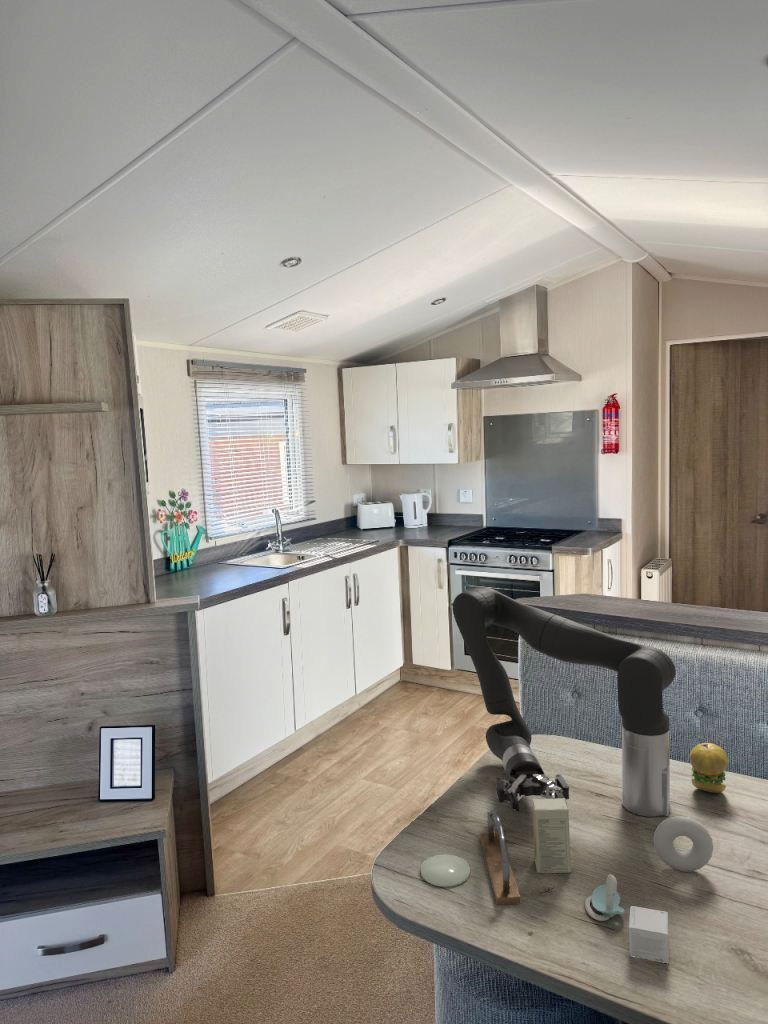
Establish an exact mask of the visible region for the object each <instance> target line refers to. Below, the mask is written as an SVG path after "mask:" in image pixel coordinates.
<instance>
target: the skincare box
mask: <svg viewBox="0 0 768 1024" xmlns="http://www.w3.org/2000/svg"><path fill="white" fill-rule="evenodd" d="M531 803H532V823H533V824H532V825H533V827H532V828H533V845H534V846H533V847H534V849H533V851H534V863H535V870H536V872H537V874H538V873H539V874H541V873H542V874H552V873H553V874H557V873H558V874H562V873H563V874H566V873H572V864H571V841H570V839H571V838H570V837H571V836H570V835H571V834H570V816H569V813H570V812H569V811H570V810H569V805H568V802H567V799H565V798H544V797H542V798H532V799H531Z"/></svg>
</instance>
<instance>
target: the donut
mask: <svg viewBox="0 0 768 1024" xmlns="http://www.w3.org/2000/svg"><path fill="white" fill-rule="evenodd" d="M653 835H654V836H653V846H654V850H655V852H656V854H657V856H658V858H659V859H660V860H661V861H662V862H663V863H664V864H665V865H666V866H668V867H669V868H672V869H673V870H676V871H680V872H684V873H685V872H687V873H688V872H696V871H699V870H701V869H702V868H703V867H704V866H706V865H707V864H708V863H709V861H710V860H711V858H712V857H713V852H714V843H713V842H714V841H713V838H712V836H711V834H710V833H709V831H708V828H706V827H705V826H704V824H702V823H701V822H700V821H698V820H696V819H694V818H692V817H688V816H684V815H676V816H675V815H674V816H671V817H668V818H666V819H664V820H662V822H660V823H659V824H658V825H657V827H656V829H655V831H654V834H653ZM678 837H679V838H680V837H687V838H688V839H690V841H692V847H691V848H690V849H688V850H683V851H682V850H679V849H677V848H676V847H675V845H674V842H675V840H676V839H677V838H678Z"/></svg>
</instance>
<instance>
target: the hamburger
mask: <svg viewBox="0 0 768 1024" xmlns="http://www.w3.org/2000/svg"><path fill="white" fill-rule="evenodd" d="M689 761H690V765H691V772H692V773H691V776H692V778H691V784H692V785H693V786H694V788H696V789H697V790H701V791H703V792H707V793H712V794H713V793H714V794H715V793H716V794H720V793H722V792H725V790H726V788H727V785H726V784H724V783H723V782H724V781H726V769H727V768H728V765H729V758H728V755H727V753H726V751H725V750H724V749H723V748H722V747H721V746H719V745H717V744H715V743H712V742H711V743H710V742H703V743H698V744H696V745H695V746H694V747H692V749H691V750H690V753H689Z"/></svg>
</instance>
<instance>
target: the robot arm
mask: <svg viewBox="0 0 768 1024" xmlns="http://www.w3.org/2000/svg"><path fill="white" fill-rule="evenodd" d="M452 614H453V617H454V620H455V622H456V625H457V628H458V630H459V633H460V634H461V637H462V639H463V641H464V646H465V647H466V649H467V651H468V653H469V656H470V658H471V661H472V663H473V667H474V669H475V671H476V676H477V679H478V682H479V685H480V690H481V693H482V698H483V700H484V701H483V702H484V705H485V709H486V712H487V713H488V714H490V715H492V716H493V715H496V716H497V715H498V716H499V715H500V716H503V715H504V716H508V717H509V718H511V719H510V720H507V721H504V722H499V723H495V724H492V725H490V726H489V727H488V728H487V730H486V733H485V741H486V744H487V746H488V748H489V750H490V751H491V753H492V754H493V755H494V756H495V757H496V758H498V759H500V760H501V761H502V765H503V769H504V774H505V775H506V777H507V780H504V779H503V778H502V777H500V776H496V777H495V791H496V795H497V800H498V802H499V803H505V801H506V802H507V803H508V804H509V806H510V809H512V810H514V811H515V813H519V812H520V800H521V799H522V798H523V797H530V796H531V797H532V796H535V797H538V796H539V797H542V798H565V800H569V799H570V786H569V784H568V783H567V782H566V779H564V777H563V775H562V774H560V773H559V774H558V773H557V774H555V777H551V778H549V776H547V775H545V772H544V769H543V768H542V766H541V764H540V762H539V759H538V758H537V755H535V752H533V750H532V748H531V746H530V745H531V743H532V733H531V730H530V728H529V726H528V724H527V723H526V721H525V719H524V718H523V716H522V714H521V713H520V711H519V708H518V706H517V704H516V701H515V697H514V694H513V693H514V692H513V689H512V685H511V682H510V677H509V676H508V673H507V671H506V668H505V667H504V666H503V664H502V663H501V661H500V660H499V659H498V658H497V656H496V655H495V653H494V651H493V650H492V648H491V646H490V643H489V641H488V638H487V633H486V626H487V625H489V624H491V625H496V626H498V627H503V628H505V629H508V630H510V631H513V632H514V633H516V634H517V635H519V637H521V638H522V639H523V641H525V643H526V644H527V645H528V646H530V648H532V649H533V650H535V651H537V652H538V653H541V654H543V655H546V656H548V657H551V658H552V659H553V658H554V659H555V660H558V661H561V662H564V663H569V664H577V665H583V666H593V667H601V668H605V669H608V670H611V671H613V672H616V673H617V677H616V679H617V681H616V682H617V683H616V684H617V688H616V690H617V707H618V711H619V716H620V717H621V738H622V739H621V751H622V752H621V753H622V754H621V756H622V757H621V759H622V760H621V761H622V763H621V765H622V766H621V773H622V776H621V777H622V778H621V779H622V780H621V782H622V787H621V788H622V789H621V790H622V791H621V792H622V793H621V795H622V796H621V797H622V800H621V801H622V806H623V807H624V808H625V810H628V812H631V813H632V814H635V815H638V816H642V817H643V816H644V817H653V818H654V817H660V816H665V817H668V816H669V813H670V803H671V801H670V800H671V798H670V797H671V760H670V717H669V715H668V714H667V712H665V711H664V702H663V699H664V697H663V694H664V693H663V692H664V690H666V689H667V688H668V687H670V685H671V684H672V683H673V681H674V680H675V678H676V675H677V674H676V672H677V669H676V665H675V663H674V661H673V660H672V659H671V657H670V656H669V655H668V654H667V653H666V652H665V651H662V650H660V649H659V648H656V647H653V646H650V645H646V644H641V643H638V642H634V641H630V640H625V639H622V638H619V637H616V636H612V635H610V634H607V633H605V632H603V631H600V630H597V629H596V628H592V627H590V626H587V625H583V624H581V623H579V622H577V621H574V620H571V619H568V618H566V617H563V616H560V615H557V614H554V613H551V612H550V611H549V612H548V611H545V610H543V609H540V608H537V607H535V606H531V605H528V604H525V603H523V602H520V601H518V600H515V599H513V598H511V597H510V596H509V595H505V594H503V593H501V592H499V591H498V590H495V589H494V588H490V587H487V586H476V587H473V588H470V589H468V590H464V591H463V592H460V593H459V594H457V595H456V596H455V598H454V599H453V602H452ZM507 788H509V789H508V790H507Z"/></svg>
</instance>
